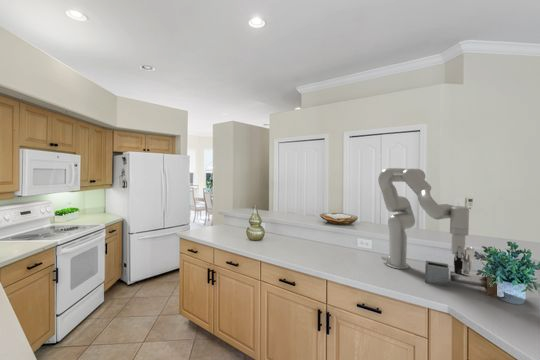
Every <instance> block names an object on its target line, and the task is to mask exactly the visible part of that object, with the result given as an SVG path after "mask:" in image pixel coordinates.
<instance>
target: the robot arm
mask: <svg viewBox="0 0 540 360" xmlns="http://www.w3.org/2000/svg"><path fill="white" fill-rule="evenodd" d="M425 179H426V173H425V172H424V170H423V169H420V168H405V167H404V168H401V167H397V168H396V167H390V168H385V169H382V171H380V173H379V175H378V179H377V180H378V185H379V188H380V190H381V193H382V197H383V201H384V204H385V208H386V209H387V211H388V212H390V213H394V214H391V216H390V217H388V220H387V225H388V230H389V231H388V233H389V235H388V236H389V244H388V247H389V249H388V252H389V253H388V256H383V255H381V260H383V261H384V262H386V265H387V266H388V267H390V268H393V269H398V270H406V269H409V268H410V265H409V263H407V249H408V248H407V245H408V244H407V241H408V239H407V238H408V237H407V233H406V230H407V229H411V228H412V227H414V226H415V224H416V217H415V215H414V211H413V209H412V206H411V202H410V200H408V198H407V197H405V196H399V194H398V191H397V188H396V186H395V185H394V184H393V182H396V183H397V182H399V183H400V182H402V183H403V182H404V183H405V184H406V185H407V186H408V187H409V188H410V189H411V191H413V193H414V194H416V196H417V200H418V203H419V205H420V207H421V208H422V210H423V211H425V213H426V214H427V215H428V216H429V217H430V218H431V219H434V220H444V219H450V221H449V234H451V248H450V249H451V250H450V251H451V254H453V255H454V257H453V265H454V266H453V267H455V268H458V269H462V266H463V261H462V255H464V253H465V247H466V236H469V226H470V225H469V224H470V223H469V221H470V209H469V207H467V206H462V205H453V204H448V203H441V204H438V203H437V202H436V200H435V199H434V198H433V197H432V195H431V190H432V186H431V184H430V183H428V181H426V180H425Z"/></svg>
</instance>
